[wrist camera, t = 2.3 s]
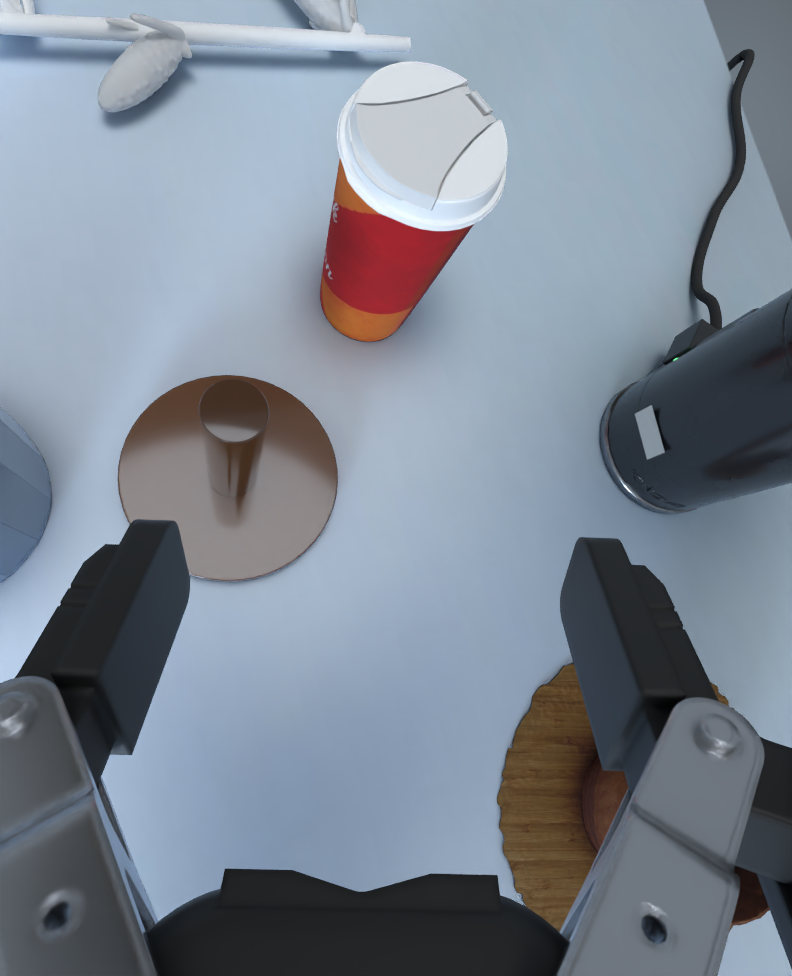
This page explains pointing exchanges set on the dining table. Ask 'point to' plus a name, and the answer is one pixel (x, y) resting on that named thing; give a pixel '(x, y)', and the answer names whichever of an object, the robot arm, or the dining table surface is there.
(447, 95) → the paper cup
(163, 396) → the paper towel holder
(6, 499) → the blue faceted canister
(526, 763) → the ceramic pot
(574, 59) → the dining table surface
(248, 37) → the dried plant stem
